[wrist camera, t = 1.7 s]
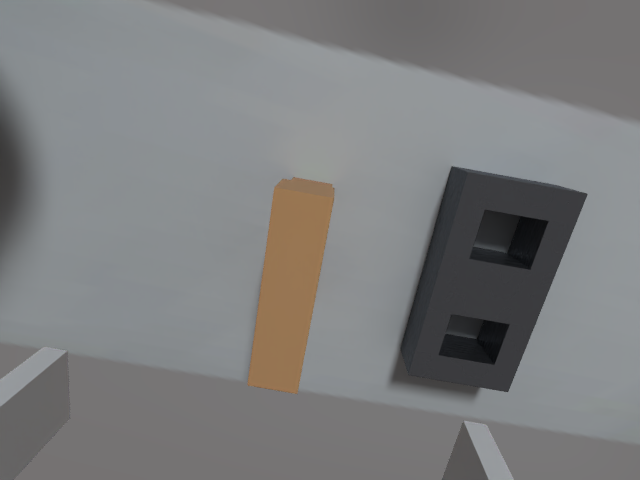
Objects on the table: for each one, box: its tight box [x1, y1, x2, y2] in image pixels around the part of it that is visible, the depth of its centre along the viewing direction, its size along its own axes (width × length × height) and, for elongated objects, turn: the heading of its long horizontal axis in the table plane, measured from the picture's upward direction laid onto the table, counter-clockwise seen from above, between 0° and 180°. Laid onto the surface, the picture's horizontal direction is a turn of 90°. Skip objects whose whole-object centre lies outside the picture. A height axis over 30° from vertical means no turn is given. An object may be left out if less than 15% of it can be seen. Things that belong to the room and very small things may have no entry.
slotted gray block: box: [401, 166, 587, 392], centre depth 28 cm, size 16×8×4 cm, turn 170°
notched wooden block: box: [248, 177, 334, 394], centre depth 25 cm, size 12×3×10 cm, turn 170°
